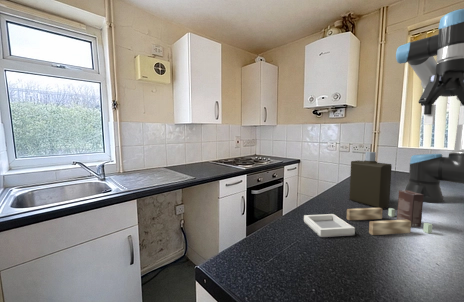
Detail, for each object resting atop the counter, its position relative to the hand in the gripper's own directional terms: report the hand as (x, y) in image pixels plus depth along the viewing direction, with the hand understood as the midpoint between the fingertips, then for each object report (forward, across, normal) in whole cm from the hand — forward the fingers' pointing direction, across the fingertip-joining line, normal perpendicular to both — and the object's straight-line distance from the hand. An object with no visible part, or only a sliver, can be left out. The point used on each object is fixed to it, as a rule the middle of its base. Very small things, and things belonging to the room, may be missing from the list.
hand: (446, 124), depth 70 cm
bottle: (+37, +6, -26) cm, 46 cm away
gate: (+37, +8, -4) cm, 38 cm away
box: (+37, +8, -4) cm, 38 cm away
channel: (+37, +21, -4) cm, 42 cm away
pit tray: (+37, +40, -4) cm, 54 cm away
